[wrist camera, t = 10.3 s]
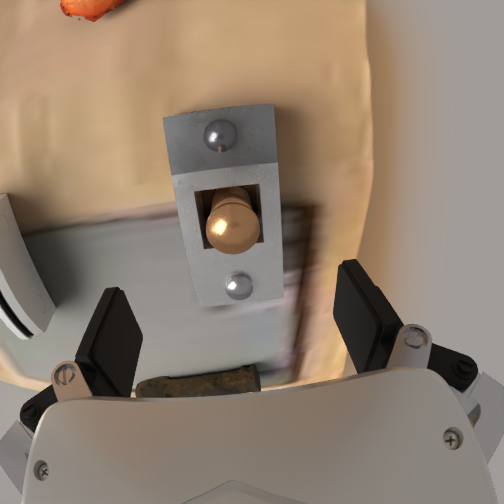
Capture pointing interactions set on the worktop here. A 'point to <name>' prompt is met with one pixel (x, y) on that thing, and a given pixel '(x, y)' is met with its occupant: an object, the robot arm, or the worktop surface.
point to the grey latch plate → (228, 175)
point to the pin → (232, 221)
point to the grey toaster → (20, 281)
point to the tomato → (88, 8)
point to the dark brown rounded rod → (202, 385)
